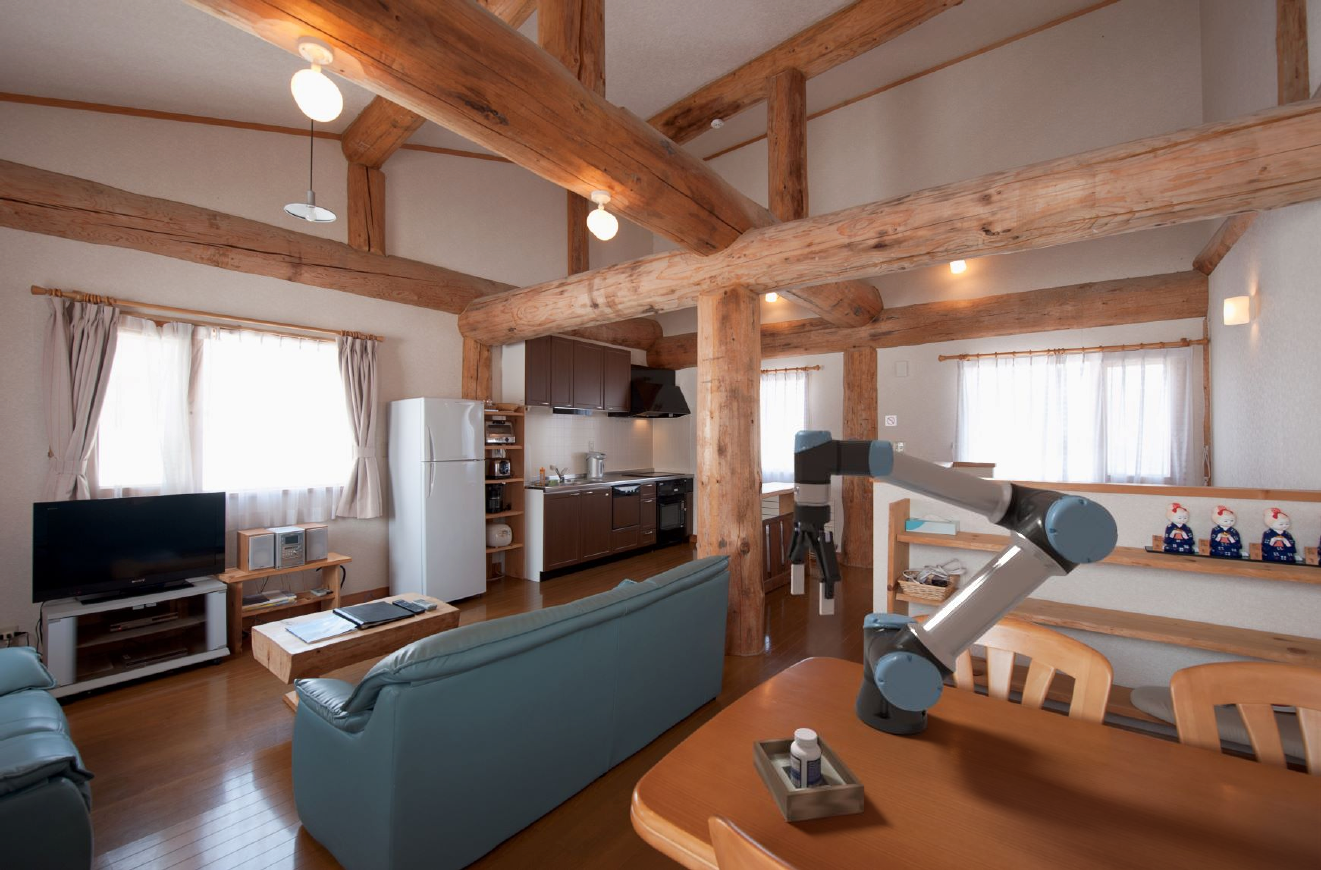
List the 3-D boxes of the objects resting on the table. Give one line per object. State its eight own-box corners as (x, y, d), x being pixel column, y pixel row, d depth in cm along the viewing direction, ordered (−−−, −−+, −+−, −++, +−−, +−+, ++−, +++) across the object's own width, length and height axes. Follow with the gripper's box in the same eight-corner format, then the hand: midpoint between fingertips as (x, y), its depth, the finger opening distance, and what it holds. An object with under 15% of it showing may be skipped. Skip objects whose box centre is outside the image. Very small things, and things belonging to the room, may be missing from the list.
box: (820, 756, 109) (820, 734, 109) (863, 812, 93) (863, 786, 93) (753, 764, 107) (753, 741, 107) (786, 822, 91) (786, 795, 91)
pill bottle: (821, 780, 102) (822, 728, 102) (820, 799, 97) (820, 744, 96) (792, 774, 103) (792, 723, 103) (789, 792, 98) (789, 738, 98)
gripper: (772, 496, 127) (772, 587, 127) (823, 512, 102) (822, 625, 102) (802, 495, 128) (802, 585, 128) (860, 511, 104) (859, 622, 104)
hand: (811, 603), depth 115 cm, fingers open, 13 cm apart
